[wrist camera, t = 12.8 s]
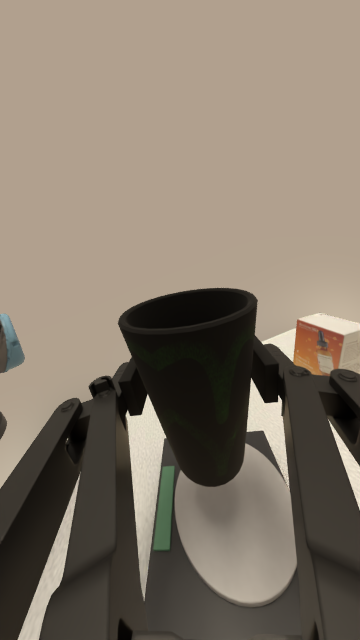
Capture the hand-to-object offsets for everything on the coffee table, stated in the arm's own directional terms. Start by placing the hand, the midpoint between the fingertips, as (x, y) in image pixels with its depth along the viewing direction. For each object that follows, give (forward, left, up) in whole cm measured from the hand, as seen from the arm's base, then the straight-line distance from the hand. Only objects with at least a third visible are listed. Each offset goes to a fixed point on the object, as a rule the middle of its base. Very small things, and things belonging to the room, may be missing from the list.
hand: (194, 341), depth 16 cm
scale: (0, -5, -17) cm, 18 cm away
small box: (+22, +13, -17) cm, 31 cm away
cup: (0, -5, -7) cm, 9 cm away
